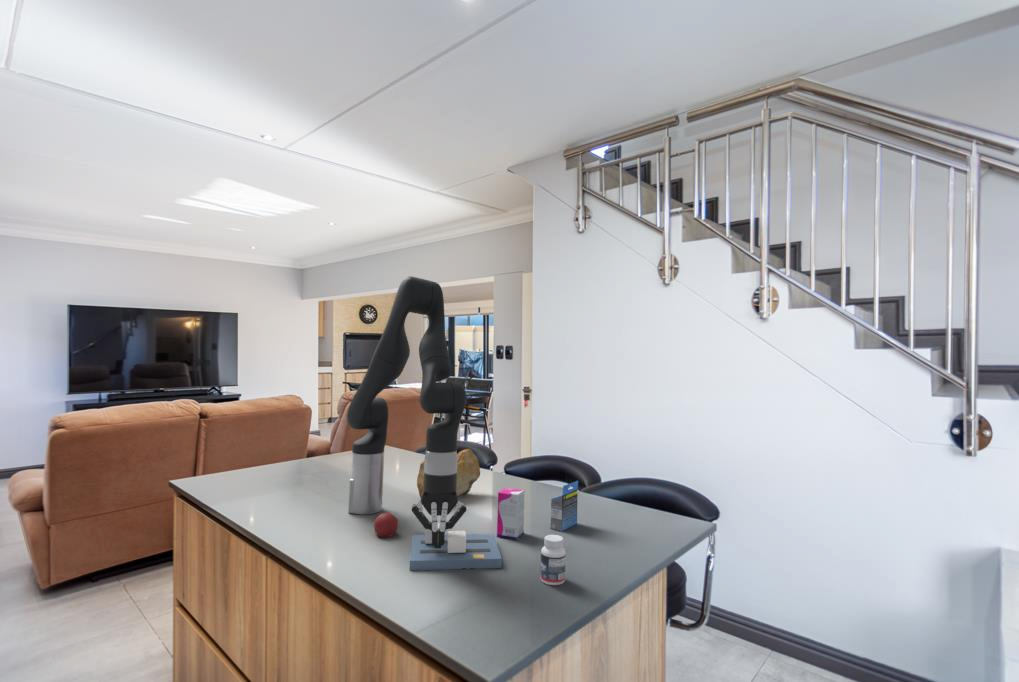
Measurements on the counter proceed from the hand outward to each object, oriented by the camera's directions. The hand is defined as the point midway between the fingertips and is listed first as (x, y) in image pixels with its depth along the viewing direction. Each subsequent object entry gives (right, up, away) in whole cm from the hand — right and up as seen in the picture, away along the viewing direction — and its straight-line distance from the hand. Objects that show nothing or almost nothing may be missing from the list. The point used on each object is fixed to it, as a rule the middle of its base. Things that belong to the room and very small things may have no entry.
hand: (437, 546), depth 117 cm
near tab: (+4, -1, +1) cm, 4 cm away
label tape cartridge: (+31, -5, +27) cm, 42 cm away
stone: (-6, -5, +55) cm, 55 cm away
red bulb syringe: (-16, -3, +15) cm, 22 cm away
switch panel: (+3, -3, +4) cm, 6 cm away
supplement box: (+16, -4, +18) cm, 25 cm away
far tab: (-2, -1, +6) cm, 6 cm away
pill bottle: (+25, -4, -9) cm, 27 cm away
